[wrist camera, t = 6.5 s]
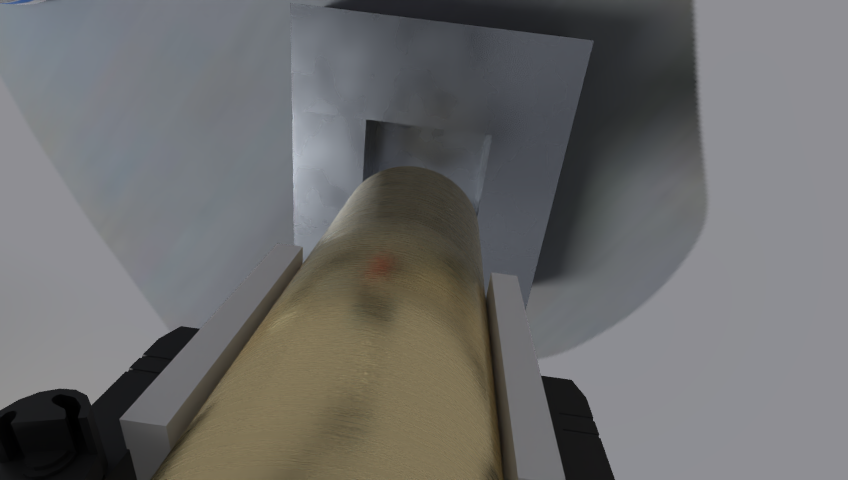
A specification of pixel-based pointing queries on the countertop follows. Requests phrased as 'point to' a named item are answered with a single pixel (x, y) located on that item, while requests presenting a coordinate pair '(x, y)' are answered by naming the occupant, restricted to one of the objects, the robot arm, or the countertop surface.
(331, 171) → the housing
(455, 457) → the cream rounded cylinder
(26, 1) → the supplement tub
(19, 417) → the robot arm
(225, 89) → the countertop surface
